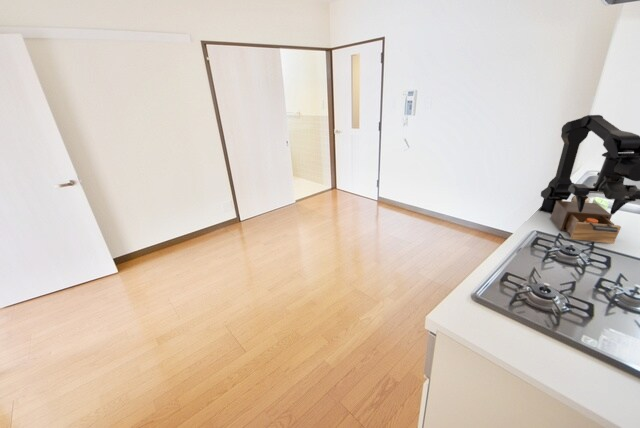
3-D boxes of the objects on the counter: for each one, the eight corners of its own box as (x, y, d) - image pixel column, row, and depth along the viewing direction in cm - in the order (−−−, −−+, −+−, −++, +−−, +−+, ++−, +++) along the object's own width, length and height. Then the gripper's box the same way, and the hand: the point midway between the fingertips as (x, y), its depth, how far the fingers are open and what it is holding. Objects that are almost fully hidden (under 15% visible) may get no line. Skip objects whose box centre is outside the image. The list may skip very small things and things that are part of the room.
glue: (581, 229, 109) (586, 216, 106) (595, 232, 106) (600, 219, 104) (579, 232, 107) (584, 219, 104) (593, 236, 104) (598, 223, 101)
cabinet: (603, 235, 108) (612, 215, 104) (560, 230, 112) (567, 211, 109) (589, 222, 117) (596, 203, 114) (550, 218, 122) (556, 200, 118)
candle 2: (605, 218, 120) (613, 200, 116) (597, 220, 119) (604, 202, 115) (593, 213, 124) (599, 196, 121) (584, 215, 123) (591, 198, 120)
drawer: (621, 250, 97) (631, 229, 93) (576, 245, 101) (584, 225, 97) (599, 230, 110) (607, 211, 106) (560, 226, 114) (567, 208, 110)
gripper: (588, 177, 92) (573, 219, 99) (664, 181, 86) (642, 225, 93) (574, 168, 102) (561, 207, 108) (642, 170, 95) (623, 212, 102)
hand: (595, 212), depth 103 cm, fingers open, 9 cm apart
